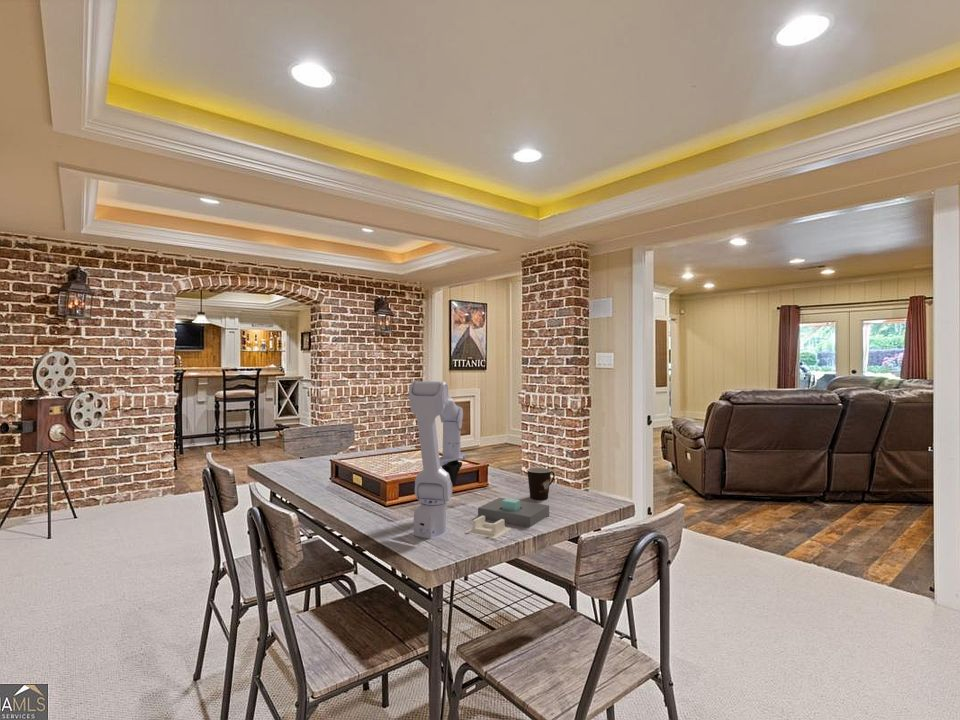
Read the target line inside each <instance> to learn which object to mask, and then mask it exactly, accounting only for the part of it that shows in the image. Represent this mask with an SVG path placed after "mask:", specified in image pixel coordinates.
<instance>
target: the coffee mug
mask: <svg viewBox="0 0 960 720" xmlns="http://www.w3.org/2000/svg"><path fill="white" fill-rule="evenodd" d="M526 471H527V480H528V489H529V497H530V499H531V500H534V501H546V500H548V499H549V493H550V486H551V485H552V483H553V482H554V480H555V477H556V475H555V472H554V471H552V470H551V469H549V468H546V467H545V468H544V467H531V468H527V470H526ZM551 476H552V479H551Z"/></svg>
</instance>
